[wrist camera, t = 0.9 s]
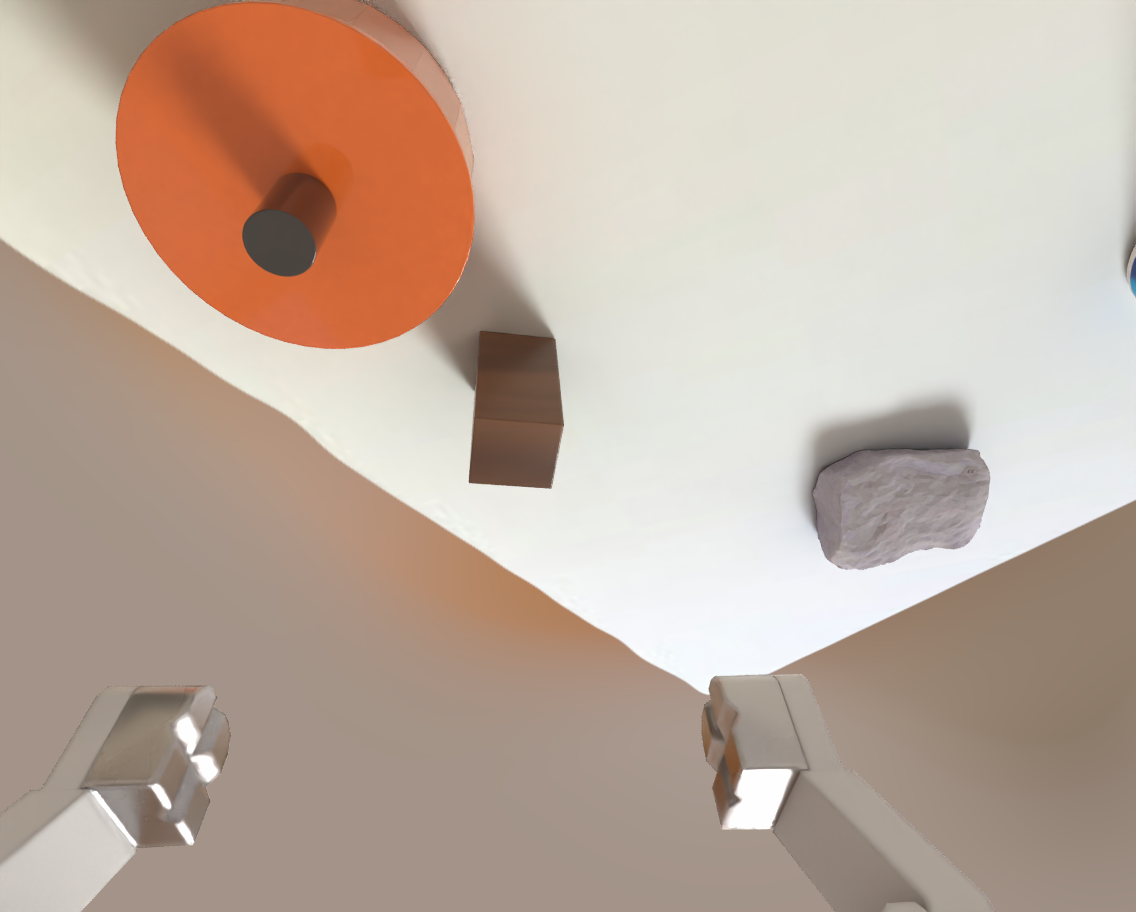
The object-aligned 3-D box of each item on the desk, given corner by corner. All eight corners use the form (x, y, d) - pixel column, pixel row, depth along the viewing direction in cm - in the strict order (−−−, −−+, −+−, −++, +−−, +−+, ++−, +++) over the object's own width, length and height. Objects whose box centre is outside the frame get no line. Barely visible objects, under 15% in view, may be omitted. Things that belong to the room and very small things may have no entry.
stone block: (803, 447, 50) (813, 549, 55) (828, 480, 46) (836, 588, 51) (963, 407, 49) (958, 515, 54) (1003, 438, 45) (995, 551, 50)
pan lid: (46, 36, 24) (-41, 67, 20) (422, -38, 24) (404, -21, 20) (231, 358, 33) (195, 420, 30) (505, 311, 33) (505, 369, 29)
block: (479, 330, 40) (474, 417, 34) (555, 338, 41) (564, 424, 34) (474, 392, 43) (468, 483, 37) (545, 399, 44) (551, 489, 37)
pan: (132, 20, 29) (55, 50, 24) (429, -38, 28) (412, -20, 23) (267, 294, 38) (231, 356, 33) (497, 254, 37) (495, 312, 32)
